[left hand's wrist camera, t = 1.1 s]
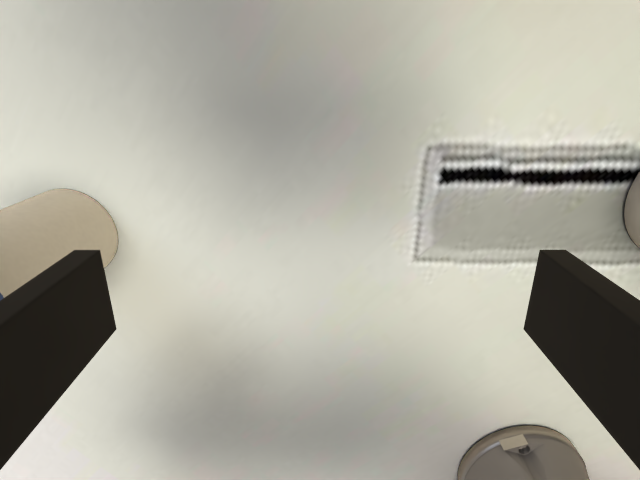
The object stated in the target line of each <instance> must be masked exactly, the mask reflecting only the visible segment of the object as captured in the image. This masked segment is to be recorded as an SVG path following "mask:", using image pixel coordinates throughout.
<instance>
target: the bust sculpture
mask: <svg viewBox="0 0 640 480" xmlns="http://www.w3.org/2000/svg"><path fill="white" fill-rule="evenodd" d="M624 217H625V224H626V228H627V231H628V234H629V235H630V237H631V239H632V240H633V242H634V243H635V244H636V245H637V246H638V247H639V248H640V172H639V174H638V175H637V177H636V178H635V180H634V182H633V183H632V185H631V188H630V190H629V193H628V195H627V199H626V203H625V211H624Z"/></svg>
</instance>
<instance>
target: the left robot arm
mask: <svg viewBox="0 0 640 480" xmlns="http://www.w3.org/2000/svg"><path fill="white" fill-rule="evenodd" d="M115 330H116V325H115V320H114V315H113V310H112V305H111V301H110V296H109V291H108V286H107V281H106V276H105V271H104V266H103V262H102V257H101V252H100V250H74V251H72V252H71V253H69V254H68V255H66V256H65V257H63V258H62V259H60V260H59V261H57V262H56V263H55V264H53V265H52V266H50V267H49V268H47V269H46V270H44V271H43V272H41V273H40V274H38V275H37V276H36V277H34V278H33V279H31V280H30V281H28V282H27V283H25V284H24V285H22V286H21V287H19V288H18V289H16V290H15V291H14V292H12V293H11V294H9V295H8V296H6V297H5V298H3V299H2V300H0V470H1V468H2V467H3V466H4V465H5V464H6V462H7V461H8V460H9V459H10V457H11V456H12V455H13V454H14V453H15V451H16V450H17V449H18V448H19V447H20V445H21V444H22V443H23V442H24V440H25V439H26V438H27V437H28V436H29V434H30V433H31V432H32V431H33V430H34V428H35V427H36V426H37V425H38V424H39V422H40V421H41V420H42V419H43V417H44V416H45V415H46V414H47V413H48V411H49V410H50V409H51V408H52V407H53V405H54V404H55V403H56V402H57V400H58V399H59V398H60V397H61V396H62V394H63V393H64V392H65V391H66V390H67V388H68V387H69V386H70V385H71V383H72V382H73V381H74V380H75V379H76V377H77V376H78V375H79V374H80V373H81V371H82V370H83V369H84V368H85V367H86V365H87V364H88V363H89V362H90V360H91V359H92V358H93V357H94V356H95V354H96V353H97V352H98V351H99V350H100V348H101V347H102V346H103V345H104V343H105V342H106V341H107V340H108V339H109V337H110V336H111V335H112V334H113V333H114V331H115ZM524 330H525V331H526V333H527V334H528V335H529V336H530V337H531V339H532V340H533V341H534V342H535V343H536V345H537V346H538V347H539V348H540V350H541V351H542V352H543V353H544V354H545V356H546V357H547V358H548V359H549V360H550V362H551V363H552V364H553V365H554V367H555V368H556V369H557V370H558V371H559V373H560V374H561V375H562V376H563V377H564V379H565V380H566V381H567V382H568V383H569V385H570V386H571V387H572V388H573V390H574V391H575V392H576V393H577V394H578V396H579V397H580V398H581V399H582V400H583V402H584V403H585V404H586V405H587V407H588V408H589V409H590V410H591V411H592V413H593V414H594V415H595V416H596V417H597V419H598V420H599V421H600V422H601V424H602V425H603V426H604V427H605V428H606V430H607V431H608V432H609V433H610V434H611V436H612V437H613V438H614V439H615V440H616V442H617V443H618V444H619V445H620V447H621V448H622V449H623V450H624V451H625V453H626V454H627V455H628V456H629V457H630V459H631V460H632V461H633V462H634V464H635V465H636V466H637V467H638V468H639V470H640V300H638V299H637V298H635V297H634V296H632V295H631V294H629V293H628V292H626V291H625V290H624V289H622V288H621V287H619V286H618V285H616V284H615V283H613V282H612V281H610V280H609V279H607V278H606V277H604V276H603V275H602V274H600V273H599V272H597V271H596V270H594V269H593V268H591V267H590V266H588V265H587V264H585V263H584V262H583V261H581V260H580V259H578V258H577V257H575V256H574V255H572V254H571V253H569V252H568V251H566V250H540V252H539V257H538V262H537V266H536V271H535V276H534V281H533V286H532V291H531V296H530V301H529V305H528V310H527V315H526V320H525V325H524Z"/></svg>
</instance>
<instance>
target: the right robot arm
mask: <svg viewBox="0 0 640 480" xmlns="http://www.w3.org/2000/svg"><path fill="white" fill-rule="evenodd" d="M458 480H589V477H588V474H587V470H586V466H585V463H584V461H583V459H582V457H581V456H580V454H579V453H578V452H577V450H576V449H575V447H574V446H573V444H572V443H571V442H570V441H569V440H568V439H567V438H566V437H565V436H563V435H562V434H560V433H558V432H556V431H554V430H551V429H548V428H545V427H539V426H517V427H511V428H507V429H503V430H500V431H497V432H495V433H492V434H490V435H488V436H486V437H485V438H483V439H482V440H480V441H479V442H477V443H476V444H475V445H474V446H473V447H472V448H471V449H470V450H469V451H468V452H467V453H466V455H465V456H464V458H463V459H462V461H461V463H460V466H459V470H458Z"/></svg>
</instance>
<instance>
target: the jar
mask: <svg viewBox="0 0 640 480" xmlns="http://www.w3.org/2000/svg"><path fill="white" fill-rule="evenodd" d="M117 246H118V235H117V230H116V226H115V224H114V222H113V220H112V218H111V216H110V215H109V213H108V212H107V211H106V210H105V209H104V207H103V206H102V205H100V204H99V203H98V202H97V201H96V200H94V199H93V198H91V197H89V196H88V195H86V194H83V193H81V192H78V191H75V190H70V189H53V190H49V191H46V192H44V193H41V194H39V195H36V196H34V197H31V198H29V199H26V200H24V201H21V202H19V203H16V204H14V205H11V206H9V207H6V208H4V209H1V210H0V293H1V294H2V295H3V297H4V298H5V297H6V296H8V295H9V294H11V293H12V292H14V291H15V290H16V289H18V288H19V287H21V286H22V285H24V284H25V283H27V282H28V281H30V280H31V279H33V278H34V277H36V276H37V275H38V274H40V273H41V272H43V271H44V270H46V269H47V268H49V267H50V266H52V265H53V264H55V263H56V262H57V261H59V260H60V259H62V258H63V257H65V256H66V255H68V254H69V253H71V252H72V251H74V250H100V252H101V257H102V262H103V266H104V268H105V267H106V266H107V265H108V264H109V263H110V262H111V261H112V259H113V258H114V256H115V254H116V251H117Z"/></svg>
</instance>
